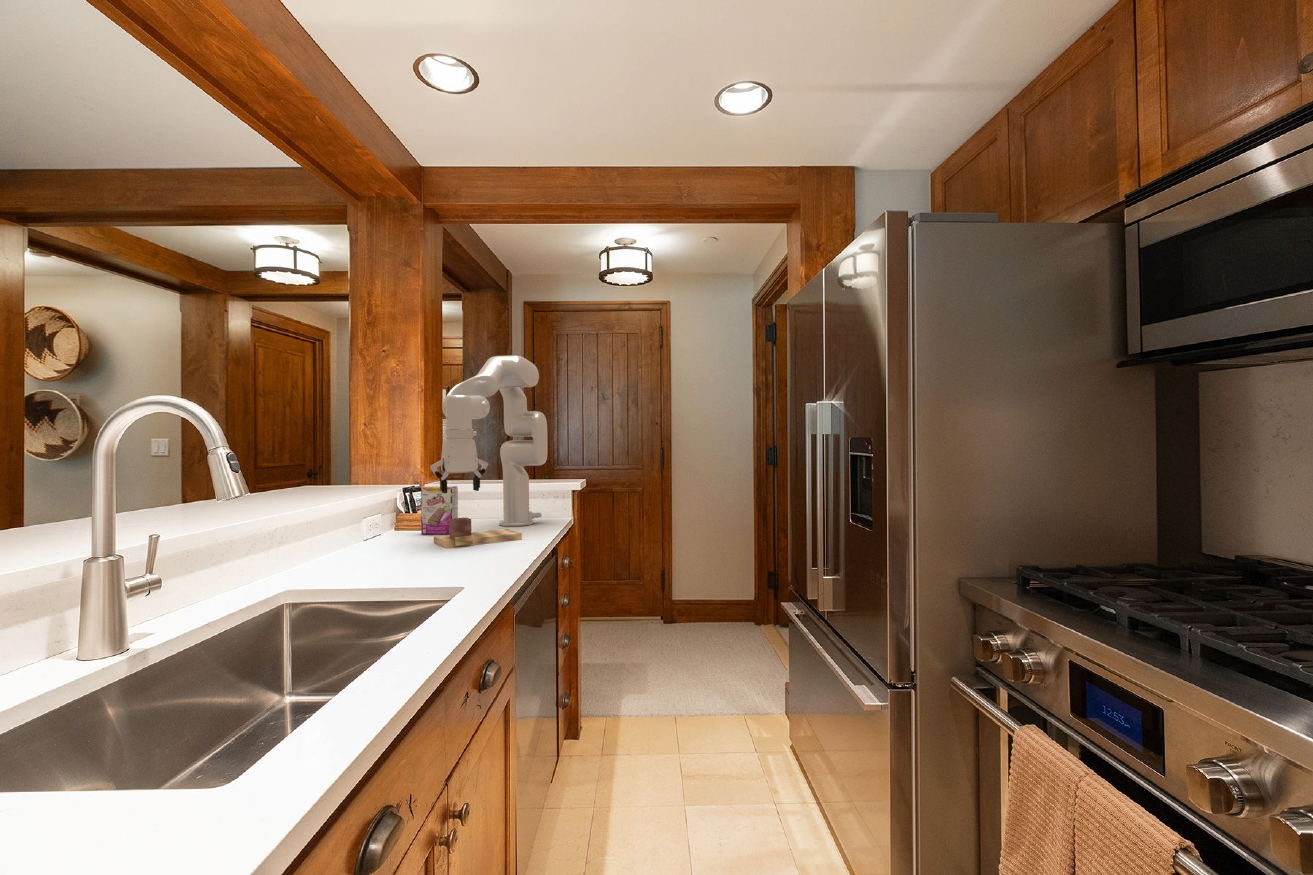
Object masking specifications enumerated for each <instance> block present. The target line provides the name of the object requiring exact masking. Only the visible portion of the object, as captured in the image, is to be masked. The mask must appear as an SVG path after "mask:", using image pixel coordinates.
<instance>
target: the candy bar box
mask: <svg viewBox="0 0 1313 875" xmlns="http://www.w3.org/2000/svg"><path fill="white" fill-rule="evenodd" d="M420 488H421V489H420V491H421V492H420V500H421V501H420V511H421V512H420V514H421V520H420V522H421V523H420V524H421V528H420V531H421V532H420V533H421V535H422V536H423V535H425V536H428V535H430V536H443V535H450V532H449V519H453V518H459V517H458V516H459V515H458V514H459V513H458V512H459V510H458V509H459V508H458V507H459V506H458V505H459V504H458V503H459V502H458V499H459V498H458V495H459V492H458V491H459V489H458V488H459V487H458V486H457V485H447V493H442V491H441V490H440V485H423V486H421V487H420Z"/></svg>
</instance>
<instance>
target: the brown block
mask: <svg viewBox="0 0 1313 875" xmlns="http://www.w3.org/2000/svg"><path fill="white" fill-rule="evenodd" d="M449 532H450V539H452V540H455V546H460V547H463V546H462V545H469V546H471V545H470V544H473V536H471V533H472V518H469V517H467V516H466V517H458V518H453V519H449Z"/></svg>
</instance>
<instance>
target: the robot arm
mask: <svg viewBox="0 0 1313 875" xmlns="http://www.w3.org/2000/svg"><path fill="white" fill-rule="evenodd" d="M539 379H540V374H539V369H538V368H537V366H536V365H535V364H534V363H533V362H531V361H529V360H528V359H527V358H525V357H523V356H520V355H512V354H511V355H495V356H491V357H489V358H488V359H487V360H486V362H485V363H484V364H483V366H482V367H481V368H480V370H479V371H478V372H477V374H476V375H475V376H472V377H470V378H468V379H466V380H464V381H462V382H460V383H458V384H456V385H455V386H454V387H452V388H451V389H450V390H449V392H448V393H447V394H446V396H445V397H444V399H443V402H442V405H441V406H442V413H443V415H444V416H445V426H446V428H445V429H446V430H445V434H446V435H445V437H446V439H445V440H443V441H442V449H441V457H440V460H438V461H437V462H435V463H433V464H432V465H430V469H431V471H432V472H433V474H434V476H435V477H437V478H438V480H439V486H440V490H441V491H442V493H447V486H448V480H447V477H448V476H449V475H450V474H462V473H463V474H464V473H466V474H467V473H471V474H472V475H473V476H474V477H473V478H472V490H473V491H476V492H479V490H480V488H481V478H482V477H483V474H485V473H486V470H487V469H488V466H489V462H487V461H485V460H483V459H480V458H478V451H477V446H476V441H475V439H473V438H474V437H475V436H477V435H478V434H477V433H478V432H477V431H474V430H473V420H481V419H484V418H486V417H488V414H489V413H490V409H491V406H490V402H489V400H488V399H487V398H488V397H491V396H494V395H495V394H496V393H497V392H500V394H501V396H502V400H503V427H504V432H505V435H507V436H509V437H518V438H519V437H520V438H521V437H525V438H526V437H532V440H531V439H530V440H528V439H527V440H525V439H524V440H523V439H522V440H519V439H515V440H507V441H505V442H503V443H502V444H501V447H500V451H499V455H500V456H499V457H500V460H501V466H502V493H503V498H502V499H503V500H502V501H503V502H502V503H503V504H502V505H503V508H502V509H503V512H502V513H503V520H500V521H499V523H498V524H499V525H500V526H502V527H523V526H524V527H525V526H530V525H533V524H534V519H535V518H536V519H537V518H542V512H533V511H530V477H529V474H528V472H527V471H526V469H525V468H524V466H526V467H527V466H529V467H530V466H532V467H533V466H534V467H535V466H542V465H544V464H545V463H546V462H547V459H548V421H547V418H546V415H545V414H544V413H543V412H541V411H537V410H533V411H532V410H531V411H529V410H528V401H527V400H528V399H527V396H526V394H525V393H524V391H523V390H522V389H521V388H532V387H536V386H537V384H538V382H539ZM498 390H499V391H498ZM479 465H481V467H480V469H479V470H478V468H479ZM439 467H440V469H441V472H439V470H438V468H439Z"/></svg>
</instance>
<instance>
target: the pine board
mask: <svg viewBox="0 0 1313 875" xmlns="http://www.w3.org/2000/svg"><path fill="white" fill-rule="evenodd" d="M522 534H523V533H522V532H520V531H519V532H518V531H515V530H512V529H510V528H509V529H508V528H505V529H504V528H503V529H492V530H485V531H484V530H483V531H475V532H472V531H471V536H473V544H470V545H462V546H455V540H452V539H450V535H433V543H434V544H435V545H438V546H440V547H442V548H445V549H450V548H458V547H460V548H461V547H468V546H477V545H485V544H494V543H503V542H513V541H520V540H522V539H523V537H522Z"/></svg>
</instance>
